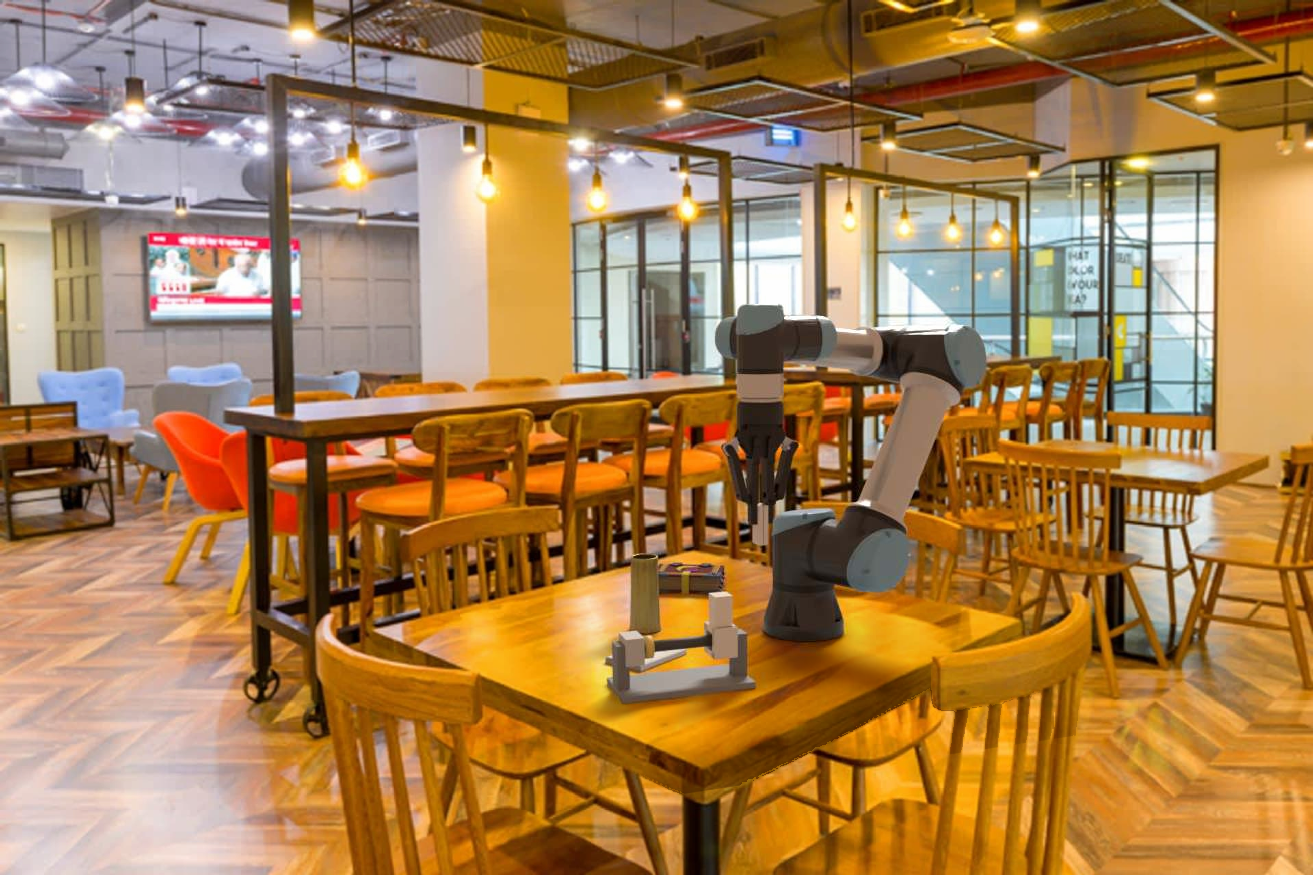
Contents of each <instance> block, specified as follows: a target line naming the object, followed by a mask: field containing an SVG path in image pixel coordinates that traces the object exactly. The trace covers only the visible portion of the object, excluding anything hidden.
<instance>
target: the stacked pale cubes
mask: <svg viewBox="0 0 1313 875" xmlns="http://www.w3.org/2000/svg"><path fill="white" fill-rule="evenodd" d="M733 602H734V601H733V595H732V594H730V593H729V592H728V591H723V592H715V593H709V594H708V620H707V621H704V622H703V626H704V627H703V628H704V629H703V636H704V635H712V646H707V647H703V648H704V649H703V650H704V652H705V653H706V655H708V656H710V657H711V659H713V660H714V661H715V660H716V661H717V660H724V659H725V660H726V659H729V658H735V657H738V629H739V628H738V626H737V625H736V624H734V623H733V622H734V621H733V620H734V619H733V618H734V617H733V615H734V614H733Z"/></svg>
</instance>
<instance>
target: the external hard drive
mask: <svg viewBox="0 0 1313 875" xmlns="http://www.w3.org/2000/svg"><path fill="white" fill-rule="evenodd" d="M685 655H687V649H679V650H670V651H660V652H655V654H654V657H653V658H649V659H645V665H643V666H634V667H630V670H634V671H636V672H641V673H642V672H645V671H647V670H649V669H652V668H655V667H657V666H659V665H662V664H665V663H668V662H670V661H673V660H674V659H677V658H680V657H682V656H685ZM604 662H605V663H606V664H609V665H612V654H611V655H609V656H606V657H605V661H604Z"/></svg>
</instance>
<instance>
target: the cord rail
mask: <svg viewBox="0 0 1313 875" xmlns="http://www.w3.org/2000/svg"><path fill="white" fill-rule="evenodd" d="M707 646H712V635H704V634H703V635H695V636H686V637H678V638H677V637H676V638H667V639H657V640H654V638H653V636H652V635H651V634H650V635H649V634H648V635H643V634H642V633H638V632H637V631H630V630H629V631H622V632H618V640H617V641H616V640H615V641H612V642H611V649H612V650H611V651H612V652H611V655H612V664H611V665H612V666H611V667H612V676H610V677H606V681H607V682H606V684H607V685H608V687H609V688H610V689H611V690H612V692H614V694H615V695H616V696H617V698H619V700H620V701H621V702H622V703H623V704H632V703H633V704H634V703H642V702H649V701H659V700H665V699H666V700H667V699H674V698H682V697H684V698H685V697H692V696H699V695H706V694H717V693H722V692H723V693H725V692H732V691H739V690H748V689H749V690H750V689H755V688H757V687H756V685H757V684H756V683H757V681H755V680H754V679H753V678H751V677H750V676H749V675H748V632H746V631H744V630H743V629H742V628H738V657H735V658H728V660H729V661H728V663H724V664H718V665H717V664H715V665H708V666H707V665H706V666H698V667H691V668H680V669H673V670H664V671H663V670H662V671H654V672H645V673H636V674H631V672H630V671H631V669H630V667H634V666H643V665H645V659H649V658H653V657H654V654H655V652H660V651H670V650H679V649H686V650H687V649H696V648H697V649H698V648H704V647H707Z"/></svg>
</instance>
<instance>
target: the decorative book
mask: <svg viewBox="0 0 1313 875" xmlns="http://www.w3.org/2000/svg"><path fill="white" fill-rule="evenodd" d="M726 576H727V572H726V570H725V564H723V565H722V564H721V565H719V564H712V563H710V562H709V563H707V562H701V564H689V563H687V564H686V563H685V564H684V563H683V562H675V561H674V562H672V563H658V579H659V594H670V593H680V594H681V595H690V594H701V595H709V593H715V592H724V590H723V589H725V588H724V585H725V586H728V584H727V583H726V581H727V577H726Z"/></svg>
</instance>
